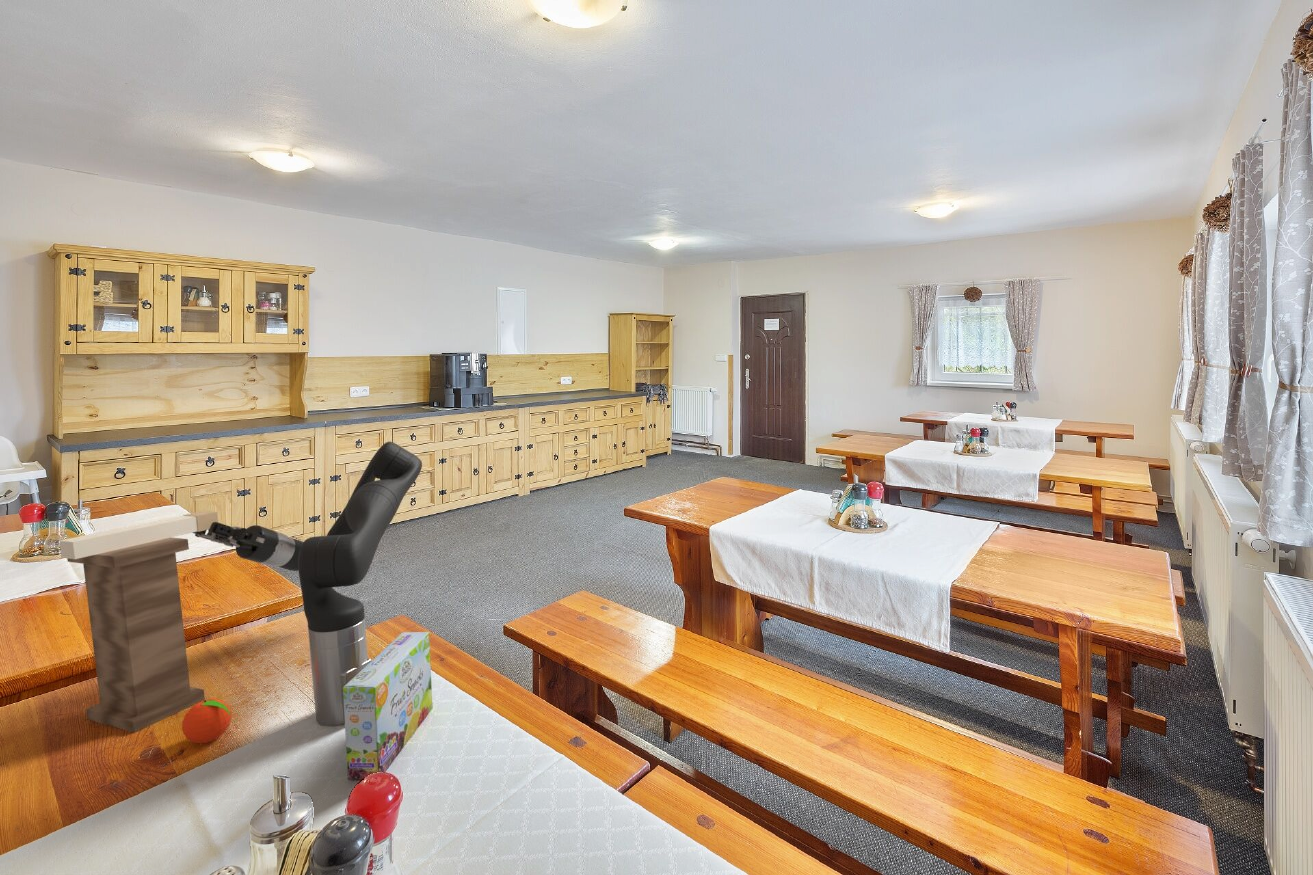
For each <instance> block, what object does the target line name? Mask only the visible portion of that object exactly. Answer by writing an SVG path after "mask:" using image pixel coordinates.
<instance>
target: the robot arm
mask: <svg viewBox="0 0 1313 875" xmlns="http://www.w3.org/2000/svg"><path fill="white" fill-rule="evenodd" d="M422 467H423V463H422V460H421V459H420V458H419V457H418V456H417V455H415V454H414V453H412V452H410V451H408V449H405V448H404V447H402V446H401V445H398V444H397V443H395V442H393V441H386V442H385V443H383V444H382V445H381V446H380V447H379V448H378V450H376V452H375V454H374V455H373V456H372V458H371V459H370V461H369V463H368V464H367V466H366V467H365V469H364V471H363V473H362V475H361V477H360V479H359V480H358V482H357V483H356V486H355V488H354V490H353V492H352V494H351V496H350V498H349V499H348V501H347V504H346V505H345V506H344V509H343V510H342V511H341V513H340V515H339V516H338V518H337V519H336V520H335V522H334V523H333V525H332V526H331V528H330V529H329V531H328V532H327V533H326V535H318V536H309V537H308V538H307V539H305V540H304V541H302V540H299V539H296V538H293V537H291V536H288V535H287V534H284V533H282V532H278V531H277V530H274V529H269V528H268V527H264V526H261V525H258V524H255V525H254V524H253V525H251V526H247V528H245V527H242V526H241V527H240V526H231V525H230V526H229V525H227V524H224V523H221V522H219V521H218V522H213V523H212V524H211V526H210V529H208V531H207V530H204V531H199V532H192V533H191V534H194V536H195V537H196V538H202V539H205V540H209V541H210V542H213V543H218V544H222V545H224V546H226V547H230V548H233V547H235V552H236V555H237V557H238V558H241V559H243V560H247V561H251V562H255V563H258V564H262V565H265V566H270V567H276V568H277V567H278V568H279V569H285V570H288V571H293V572H297V571H298V578H299V583H300V588H301V589H300V590H301V595H302V596H301V597H302V604H303V610H304V612H303V613H304V616H305V618H306V622H307V630H308V642H309V654H310V667H311V677H312V678H311V679H312V691H313V700H314V710H315V721H316V720H317V721H316V722H317V723H318V724H319V723H320V724H319V725H322V726H330V727H331V726H340V725H345V716H344V698H343V687H344V686H345V685H346V684H347V683H348V682H350V681H351V680H352V679H353V678H354V677H355V676H356V675H357V674H358V673H359V672H360V671H361V670H363V669H364V668H365V667H366V666H367V665H368V664H369V663H370V662H371V661H372V660H373V659H371V658H369V657H368V646H367V645H368V644H367V643H368V642H367V631H366V629H367V628H366V620H365V618H366V616H365V607H364V604H363V602H361V601H360V600H359V599H356V598H353V597H349V596H346V595H344V594H341V593H339V592H338V591H336V590H335V589H334V588H341V587H350V586H355V585H357V584H360V583H361V582H362V581H363V580H364V579H365V577H366V576H367V574H368V572H369V570H370V567H371V566H372V563H373V560H374V557H375V555H376V552H377V549H378V547H379V544H380V542H381V540H382V538H383V537H384V534H385V532H386V530H387V528H388V527H389V526H390V524H391V523H392V521H393V520H394V517H395V516H396V514H397V511H398V510H399V508H400V506H401V503H402V501H403V500H404V497H405V496H406V494H407V493H408V491H409V490H410V488H411V487H412V486H413V484H414V483H415V482H416V480H417V478H418V477H419V475H420V473H421V470H422ZM376 479H377V480H376Z"/></svg>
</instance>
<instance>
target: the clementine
mask: <svg viewBox="0 0 1313 875" xmlns="http://www.w3.org/2000/svg"><path fill="white" fill-rule="evenodd" d="M232 715H233V714H232V710H231V708H230V707H229V705H228V704H227V702H225V701H223V700H220V699H216V698H208V699H204V700H202V701H200V702H198V703H196V704H194V705H192V706H191V708H189V710H187V712H186V714H185V715H184V716H183V720H182V723H181V730H182V734H183V735H184V736H185V738H186V739H187V740H189V741H191V742H192V743H196V744H206V743H210V742H213V741H215V740H217V739H219V738H220V737H221V736H222V735H223V734H225V732H226V731H227V729H228V728H229V727H230V725H231V723H232Z"/></svg>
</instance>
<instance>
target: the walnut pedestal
mask: <svg viewBox="0 0 1313 875" xmlns="http://www.w3.org/2000/svg"><path fill="white" fill-rule="evenodd" d="M187 550H190V547H189V539H188V538H181V537H180V538H179V537H171V538H166V539H162V540H157V541H153V542H149V543H144V544H140V545H136V546H131V547H127V548H122V549H118V550H114V551H109V552H105V553H101V554H96V555H92V556H87V557H83V558H79V559H69V558H66V559H67V562H69V563H76V564H82V566H83V573H84V574H83V575H84V582H85V591H86V598H87V605H88V606H87V607H88V613H89V622H90V629H91V630H90V631H91V632H90V633H91V638H92V646H93V647H92V648H93V657H94V662H95V670H96V671H95V673H96V680H97V687H98V688H97V689H98V696H99V703H97V704H95V705H93V706H90V707H87V708H86V709H85V711H86V718H87V720H89V721H92V722H96V723H99V724H103V725H106V726H109V727H112V728H113V727H114V728H117V729H120V730H123V731H127V732H131V733H137V732H138V731H141V730H143V729H146V728H147V727H149V726H152V725H154V724H157V722H160V721H162V720H164V719H166V718H168V717H171V716H173V715H175V714H178V712H181V711H182V710H185V709H187V708H189V707H193V706H194V705H196V704H197V703H199V702H201V701H204V700H206V699H205V697H206V696H205V690H204V689H203V688H198V687H194V686H191V685H190V676H189V675H190V674H189V664H188V659H187V657H188V656H187V647H186V638H185V630H184V619H183V611H182V600H181V593H180V592H181V591H180V583H179V573H178V564H177V555H176V554H177V553H180V552H184V551H187Z"/></svg>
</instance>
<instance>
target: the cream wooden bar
mask: <svg viewBox="0 0 1313 875" xmlns="http://www.w3.org/2000/svg"><path fill="white" fill-rule="evenodd" d="M213 522H218V523H219V517H218V511H210V510H202V511H196V512H192V513H186V514H183V515H179V516H175V517H170V518H163V519H160V520H154V521H150V522H149V521H148V522H145V523H140V524H134V525H130V526H125V527H120V528H115V529H110V530H104V531H100V532H96V533H92V534H85V535H81V536H75V537H69V538H66V539H61V540H59V548H60V557H61V559H62V558H63V559H67V558H69V559H79V558H83V557H87V556H92V555H96V554H101V553H105V552H109V551H114V550H118V549H122V548H127V547H131V546H136V545H140V544H144V543H149V542H153V541H157V540H162V539H166V538H171V537H172V538H176V537H179V536H183V535H188V534H193V533H192V532H199V531H204V530H208V529H210V526H211V524H212V523H213Z"/></svg>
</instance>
